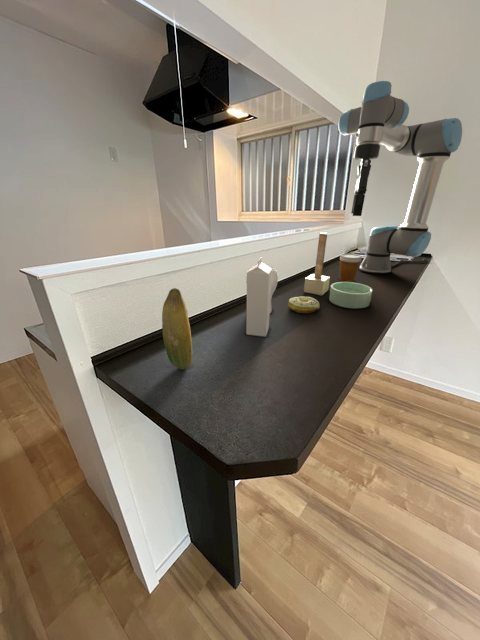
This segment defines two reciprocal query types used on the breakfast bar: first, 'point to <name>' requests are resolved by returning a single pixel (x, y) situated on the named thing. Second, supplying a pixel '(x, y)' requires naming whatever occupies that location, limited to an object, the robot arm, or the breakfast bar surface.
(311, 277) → the stand
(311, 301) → the decorated donut
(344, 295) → the bowl
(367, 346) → the breakfast bar surface
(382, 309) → the breakfast bar surface
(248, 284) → the milk
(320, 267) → the stirring stick
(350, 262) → the disposable coffee cup
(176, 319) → the vegetable
